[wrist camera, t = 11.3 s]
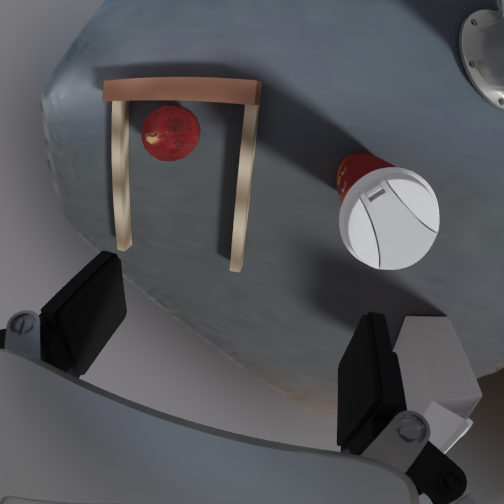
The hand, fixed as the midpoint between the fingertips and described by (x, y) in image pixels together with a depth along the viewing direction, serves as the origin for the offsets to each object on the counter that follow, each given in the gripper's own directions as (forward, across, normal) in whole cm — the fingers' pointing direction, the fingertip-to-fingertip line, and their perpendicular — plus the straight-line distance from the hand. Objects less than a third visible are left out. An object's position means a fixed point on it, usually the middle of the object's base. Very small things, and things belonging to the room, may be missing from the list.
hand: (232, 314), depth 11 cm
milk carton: (+25, -24, +19) cm, 39 cm away
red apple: (+24, +12, -2) cm, 27 cm away
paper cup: (+25, -8, 0) cm, 26 cm away
